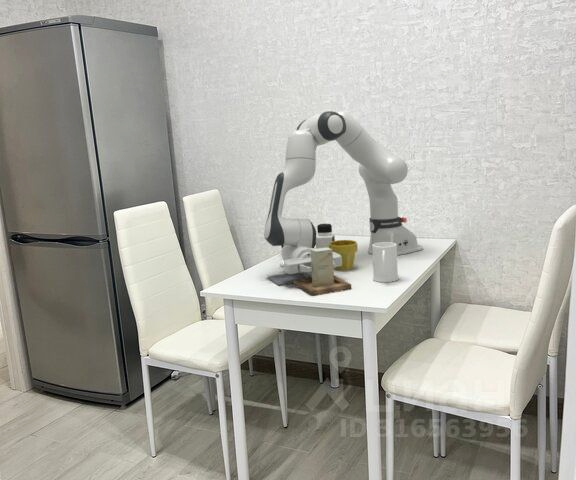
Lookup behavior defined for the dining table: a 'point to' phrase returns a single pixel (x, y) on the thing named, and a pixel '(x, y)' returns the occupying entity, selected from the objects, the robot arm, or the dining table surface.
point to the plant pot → (344, 252)
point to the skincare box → (322, 267)
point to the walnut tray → (312, 290)
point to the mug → (385, 262)
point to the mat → (286, 278)
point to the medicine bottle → (324, 235)
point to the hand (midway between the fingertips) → (321, 268)
